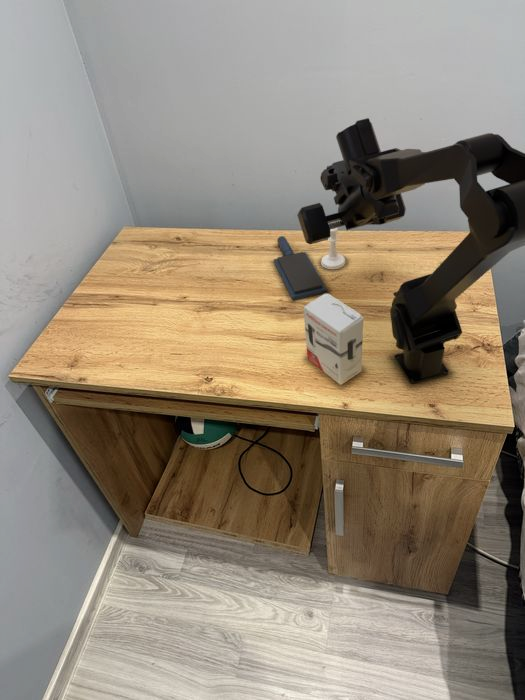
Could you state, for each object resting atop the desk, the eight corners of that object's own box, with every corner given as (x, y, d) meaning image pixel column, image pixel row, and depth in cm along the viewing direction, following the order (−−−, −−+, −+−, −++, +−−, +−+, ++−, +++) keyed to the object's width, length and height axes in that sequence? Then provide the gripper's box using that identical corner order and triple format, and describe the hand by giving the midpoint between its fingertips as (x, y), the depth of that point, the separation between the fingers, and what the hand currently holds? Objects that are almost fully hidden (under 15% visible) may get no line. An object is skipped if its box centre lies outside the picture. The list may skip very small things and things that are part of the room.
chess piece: (331, 253, 107) (330, 210, 100) (349, 261, 104) (350, 217, 97) (316, 264, 104) (314, 221, 97) (334, 272, 102) (334, 228, 95)
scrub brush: (327, 292, 97) (326, 283, 96) (292, 300, 96) (291, 292, 95) (295, 239, 112) (295, 231, 111) (265, 245, 111) (265, 238, 110)
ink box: (305, 359, 85) (301, 304, 76) (327, 345, 86) (326, 290, 78) (340, 386, 79) (340, 331, 71) (362, 371, 81) (365, 315, 73)
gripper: (403, 138, 82) (368, 176, 98) (298, 164, 79) (279, 199, 94) (424, 202, 82) (386, 230, 97) (319, 231, 79) (297, 255, 94)
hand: (337, 227), depth 96 cm, fingers open, 9 cm apart
